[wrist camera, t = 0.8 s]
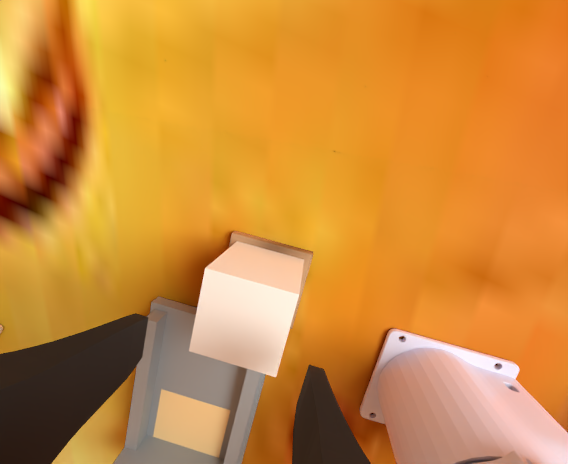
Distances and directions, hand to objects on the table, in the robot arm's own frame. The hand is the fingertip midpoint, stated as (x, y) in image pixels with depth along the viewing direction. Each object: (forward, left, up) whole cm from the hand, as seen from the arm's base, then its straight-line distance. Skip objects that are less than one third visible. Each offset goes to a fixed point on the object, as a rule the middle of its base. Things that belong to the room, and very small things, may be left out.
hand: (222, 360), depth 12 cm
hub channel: (+3, +11, -10) cm, 15 cm away
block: (0, 0, -9) cm, 9 cm away
